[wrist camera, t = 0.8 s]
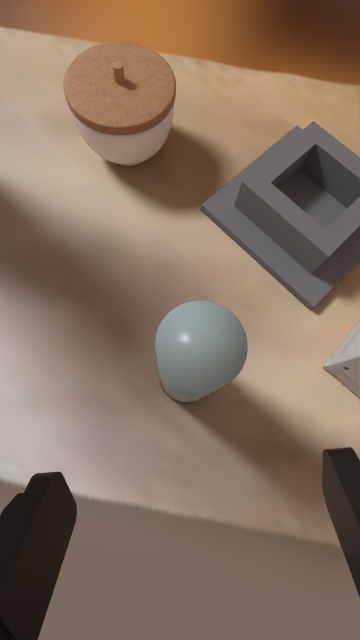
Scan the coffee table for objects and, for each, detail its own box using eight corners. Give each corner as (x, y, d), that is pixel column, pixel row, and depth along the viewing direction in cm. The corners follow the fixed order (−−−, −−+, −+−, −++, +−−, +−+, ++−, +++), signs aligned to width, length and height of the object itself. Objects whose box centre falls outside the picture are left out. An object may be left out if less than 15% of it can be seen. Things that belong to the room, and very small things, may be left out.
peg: (149, 375, 33) (135, 342, 18) (186, 340, 34) (201, 283, 19) (185, 414, 32) (201, 412, 17) (222, 377, 33) (266, 345, 18)
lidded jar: (84, 107, 41) (61, 20, 32) (173, 108, 42) (175, 23, 33) (79, 183, 38) (53, 110, 29) (175, 183, 39) (178, 112, 30)
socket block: (200, 210, 38) (205, 179, 33) (293, 132, 41) (310, 94, 37) (309, 310, 35) (332, 293, 30) (399, 217, 39) (432, 189, 34)
